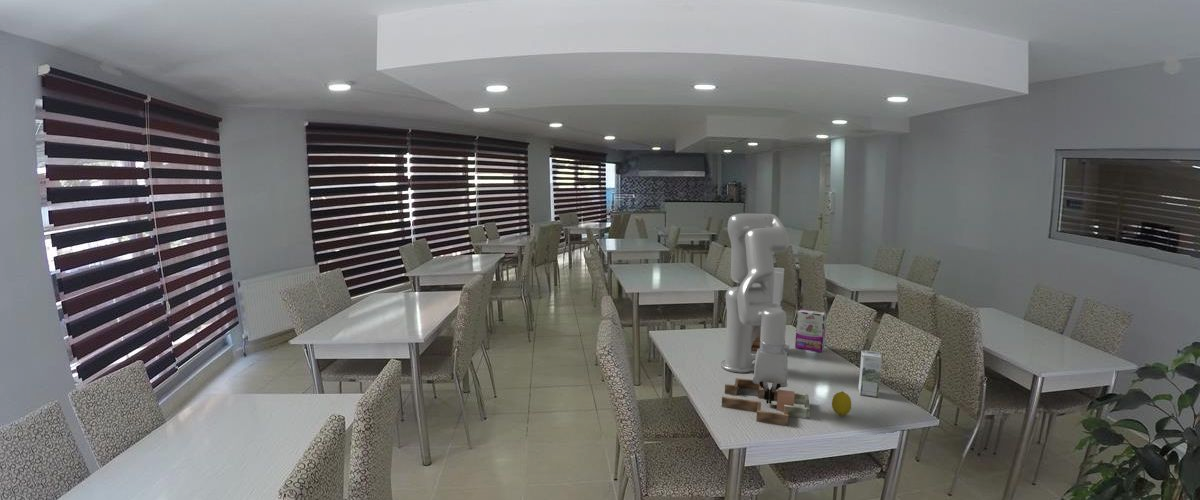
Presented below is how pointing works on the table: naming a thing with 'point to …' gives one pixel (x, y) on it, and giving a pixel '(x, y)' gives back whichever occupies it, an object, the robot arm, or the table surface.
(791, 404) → the block
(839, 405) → the lemon
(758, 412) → the wooden zigzag frame
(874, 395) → the syrup box
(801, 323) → the candy bar box
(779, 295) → the display case
